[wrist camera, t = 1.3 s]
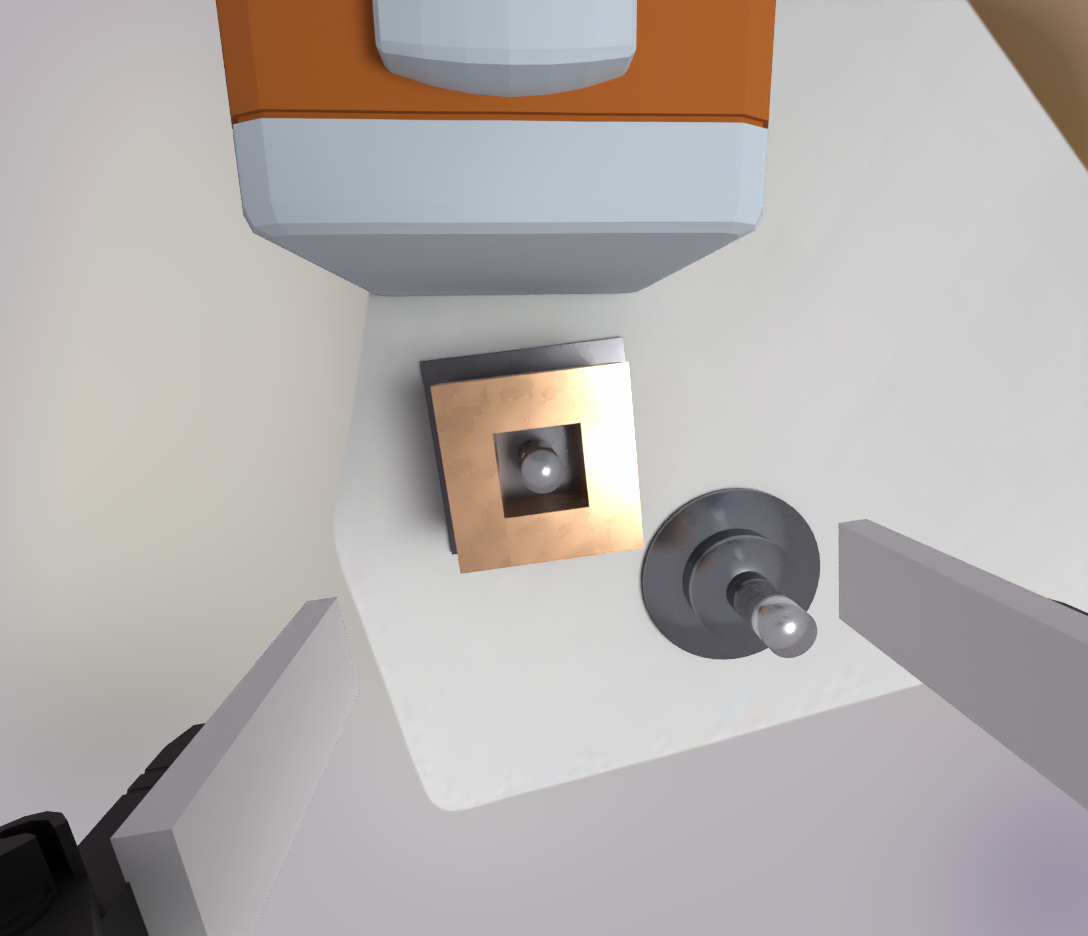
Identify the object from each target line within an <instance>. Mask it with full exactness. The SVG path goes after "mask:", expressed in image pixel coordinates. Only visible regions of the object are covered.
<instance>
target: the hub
mask: <svg viewBox="0 0 1088 936" xmlns="http://www.w3.org/2000/svg"><path fill="white" fill-rule="evenodd" d="M819 575H820V557H819V551H818V546H817V542H816V540H815V537H814V534H813V532H812V531H811V529H810V527H809V525H808V524H807V522H806V521H805V520H804V518H803V517H802V516H801V515H800V514H799V513H798V512H797V511H796V510H795V509H794V508H793V507H791V506H790V505H788V504H787V503H786V502H784V501H782V500H780V499H778V498H776V497H774V496H772V495H770V494H767V493H764V492H761V491H757V490H752V489H740V488H736V489H725V490H720V491H715V492H712V493H709V494H706V495H703V496H701V497H699V498H696V499H694V500H692V501H691V502H689V503H687V504H686V505H684V506H683V507H681V508H680V509H679V510H678V511H676V512H675V513H674V514H673V515H672V516H671V517H670V518H669V519H668V520H667V521H666V522H665V523H664V524H663V526H662V527H661V528H660V530H659V531H658V532H657V534H656V536H655V537H654V539H653V541H652V543H651V545H650V547H649V550H648V552H647V555H646V558H645V562H644V567H643V575H642V588H643V594H644V600H645V603H646V606H647V609H648V611H649V613H650V615H651V618H652V619H653V621H654V623H655V624H656V626H657V627H658V629H659V630H660V631H661V632H662V633H663V635H664V636H665V637H666V638H667V639H669V640H670V641H671V642H672V643H673V644H675V645H676V646H678V647H679V648H681V649H683V650H685V651H687V652H689V653H691V654H694V655H697V656H700V657H704V658H711V659H736V658H741V657H746V656H749V655H752V654H755V653H758V652H760V651H762V650H765V649H767V648H770V650H771V651H772V652H773V653H775V654H776V655H778V656H780V657H784V658H793V657H797V656H799V655H802V654H803V653H805V652H806V651H807V650H808V649H810V647H811V646H812V645H813V643H814V641H815V639H816V636H817V626H816V623H815V621H814V619H813V618H812V617H811V616H810V615H809V614H808V613H807V610H808V609H809V607H810V605H811V603H812V600H813V598H814V596H815V593H816V590H817V586H818V581H819Z"/></svg>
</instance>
